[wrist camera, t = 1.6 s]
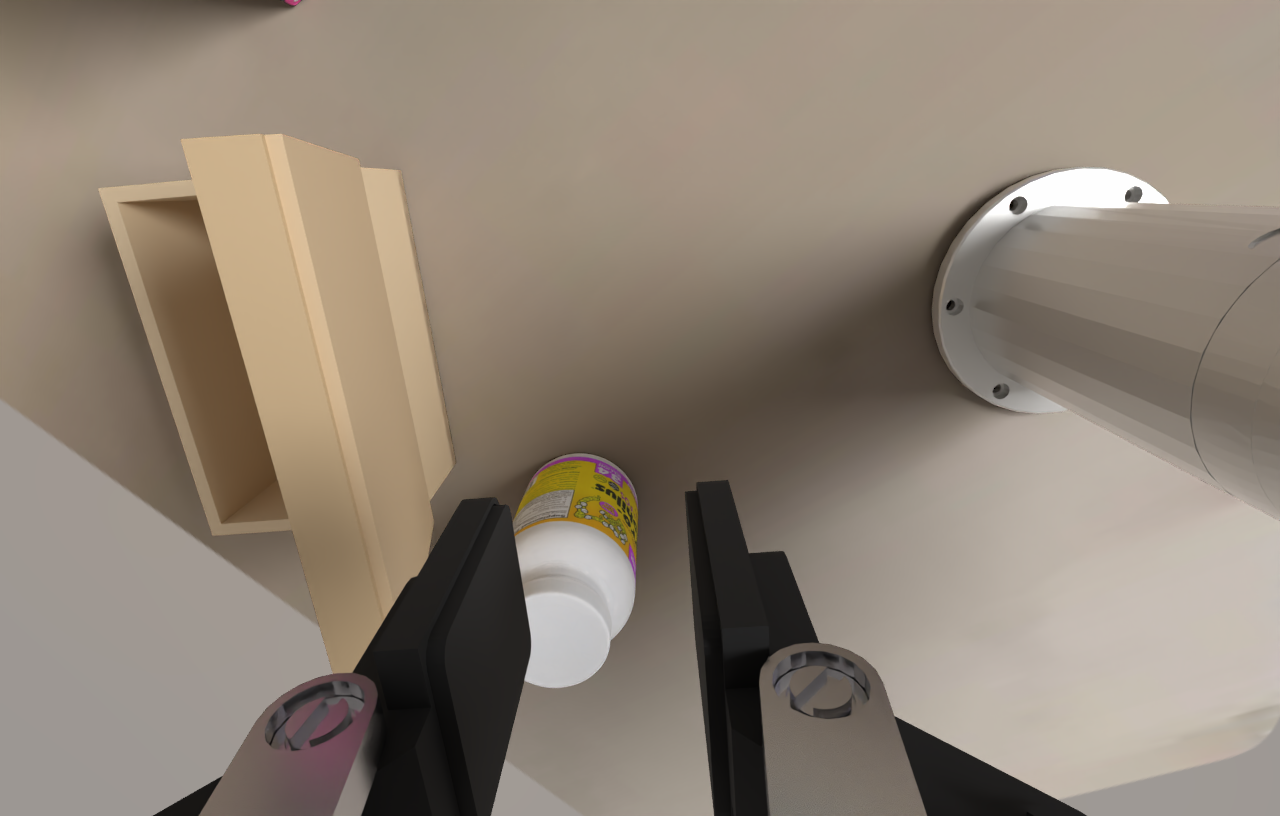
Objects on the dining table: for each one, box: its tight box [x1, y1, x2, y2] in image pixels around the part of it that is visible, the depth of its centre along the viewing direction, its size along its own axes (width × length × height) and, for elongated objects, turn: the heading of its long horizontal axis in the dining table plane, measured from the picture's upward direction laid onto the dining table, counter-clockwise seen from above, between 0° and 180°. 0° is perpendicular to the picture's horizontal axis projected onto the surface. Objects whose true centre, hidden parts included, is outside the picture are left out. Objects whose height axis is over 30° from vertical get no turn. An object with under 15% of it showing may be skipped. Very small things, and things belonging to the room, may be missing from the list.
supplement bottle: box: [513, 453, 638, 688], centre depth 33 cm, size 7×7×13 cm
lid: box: [181, 134, 434, 674], centre depth 24 cm, size 11×16×2 cm
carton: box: [98, 168, 456, 536], centre depth 32 cm, size 10×16×7 cm, turn 5°
